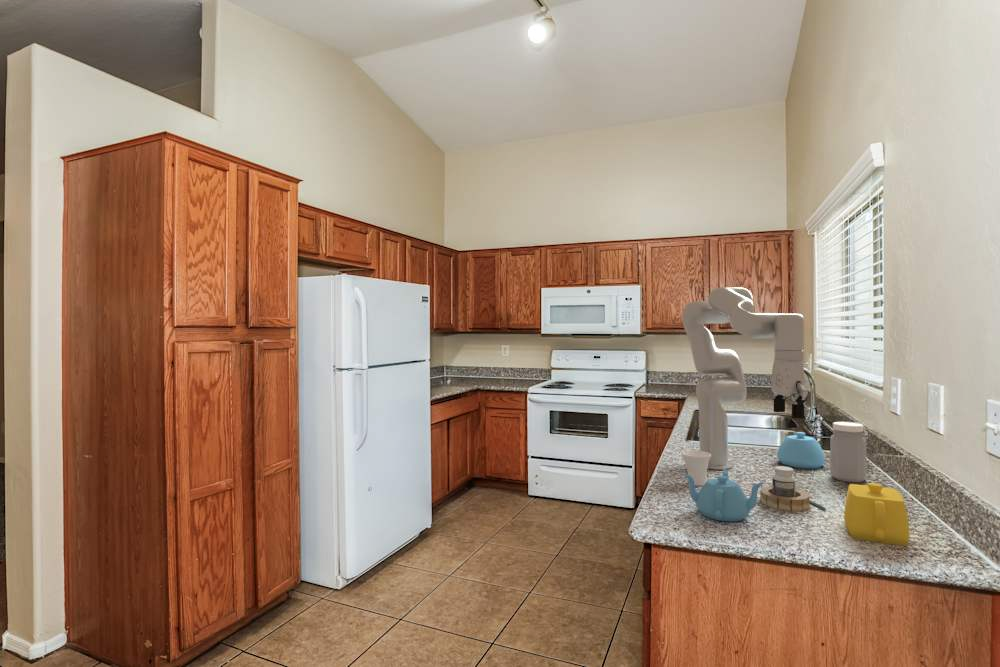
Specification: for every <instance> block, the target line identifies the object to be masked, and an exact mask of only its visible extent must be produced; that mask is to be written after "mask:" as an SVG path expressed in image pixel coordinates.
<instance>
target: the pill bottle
mask: <svg viewBox="0 0 1000 667" xmlns="http://www.w3.org/2000/svg"><path fill="white" fill-rule="evenodd" d="M774 473H775V474H773V476H772V486H773V494H774V495H777V496H782V497H796V491H795V489H797V488H796V478H795V476H794V475H793V474H794V469H793V468H792V467H791V466H786V465H785V466H784V465H782V466H781V465H777V466H775V467H774Z"/></svg>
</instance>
